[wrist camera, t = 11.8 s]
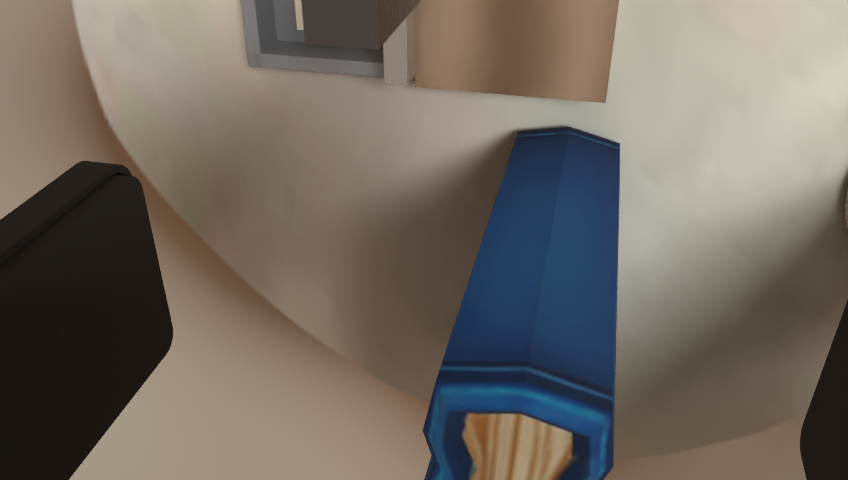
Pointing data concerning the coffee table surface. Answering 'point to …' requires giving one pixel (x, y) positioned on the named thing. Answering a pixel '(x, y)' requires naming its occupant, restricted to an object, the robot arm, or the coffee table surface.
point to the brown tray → (517, 47)
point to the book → (536, 323)
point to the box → (299, 44)
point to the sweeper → (367, 30)
